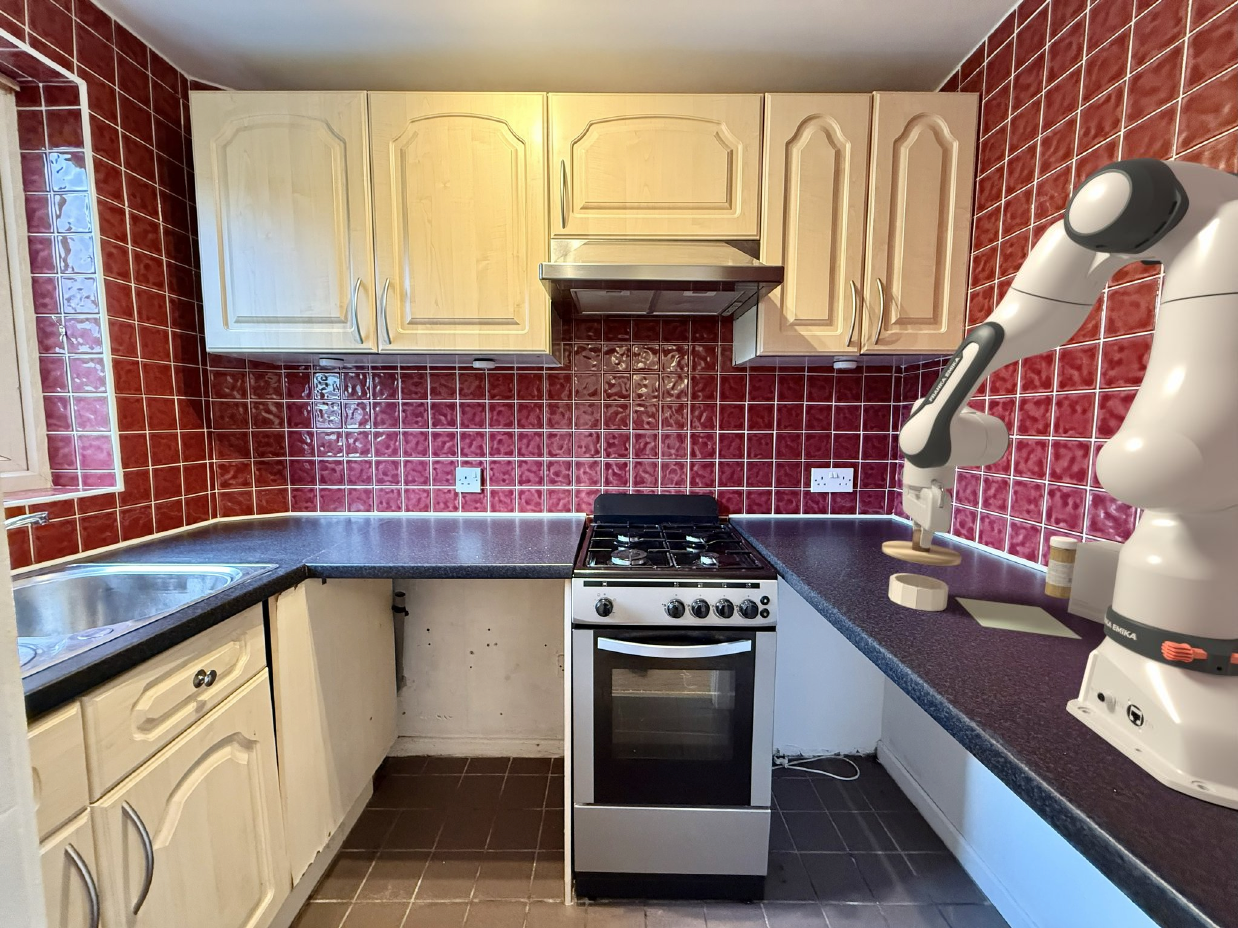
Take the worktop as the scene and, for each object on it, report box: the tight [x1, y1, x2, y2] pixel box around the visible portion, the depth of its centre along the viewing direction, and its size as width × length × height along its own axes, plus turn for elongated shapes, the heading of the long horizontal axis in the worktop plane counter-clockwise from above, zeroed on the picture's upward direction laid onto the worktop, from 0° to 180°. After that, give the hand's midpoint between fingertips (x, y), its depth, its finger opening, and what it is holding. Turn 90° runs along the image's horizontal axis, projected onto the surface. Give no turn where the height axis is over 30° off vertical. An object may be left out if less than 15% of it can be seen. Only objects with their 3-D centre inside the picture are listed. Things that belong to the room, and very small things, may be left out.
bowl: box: [888, 572, 949, 612], centre depth 105 cm, size 10×10×5 cm
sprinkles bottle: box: [1044, 535, 1079, 600], centre depth 110 cm, size 5×5×13 cm
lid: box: [881, 529, 963, 567], centre depth 104 cm, size 14×14×5 cm
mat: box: [955, 597, 1083, 640], centre depth 98 cm, size 15×15×1 cm
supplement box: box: [1067, 540, 1124, 625], centre depth 98 cm, size 9×9×15 cm
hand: (921, 544), depth 104 cm, fingers closed on lid, 3 cm apart
